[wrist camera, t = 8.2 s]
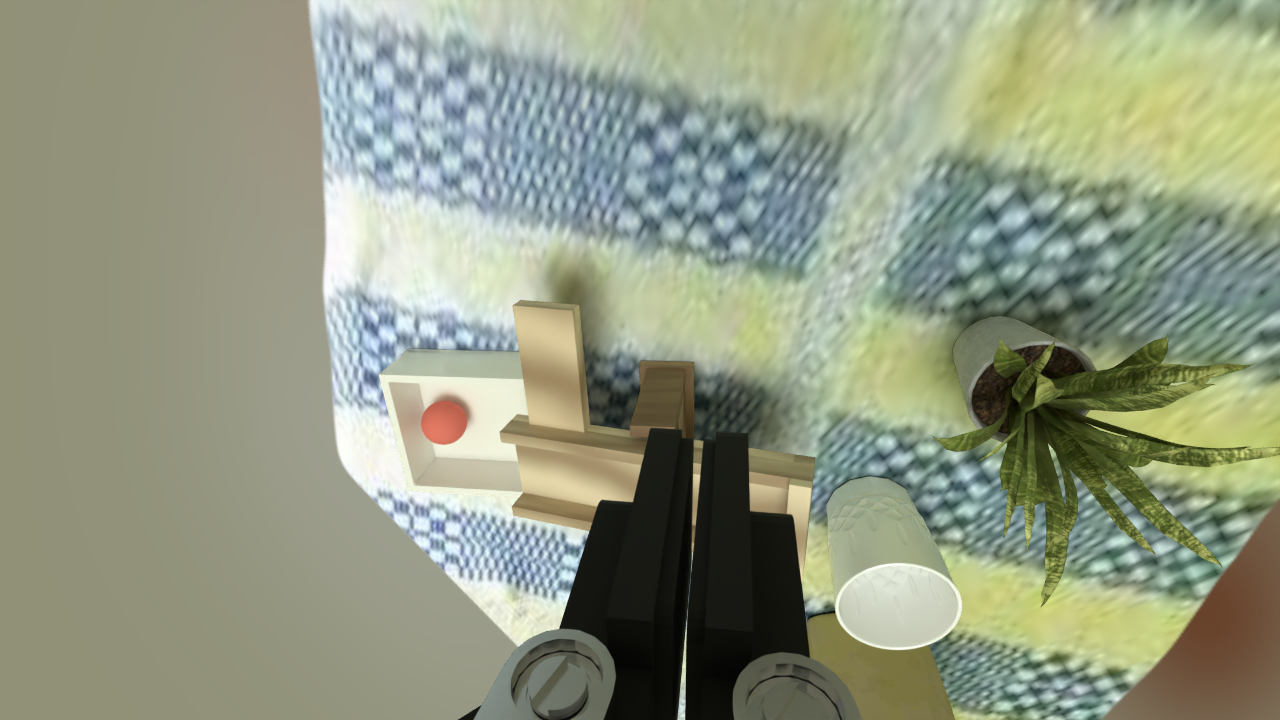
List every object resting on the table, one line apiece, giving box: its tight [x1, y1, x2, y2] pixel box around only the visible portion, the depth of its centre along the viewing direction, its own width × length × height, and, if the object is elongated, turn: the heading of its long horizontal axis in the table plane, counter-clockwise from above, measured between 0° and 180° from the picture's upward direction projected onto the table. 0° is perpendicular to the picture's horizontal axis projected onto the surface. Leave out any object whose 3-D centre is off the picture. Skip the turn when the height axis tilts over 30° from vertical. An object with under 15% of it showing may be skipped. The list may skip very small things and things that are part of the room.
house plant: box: [931, 316, 1280, 607], centre depth 35 cm, size 14×14×16 cm
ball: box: [421, 401, 467, 445], centre depth 48 cm, size 4×4×4 cm
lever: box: [499, 300, 815, 582], centre depth 38 cm, size 16×20×4 cm
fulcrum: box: [630, 361, 694, 438], centre depth 44 cm, size 10×4×9 cm, turn 2°
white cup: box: [826, 476, 962, 650], centre depth 44 cm, size 8×8×10 cm
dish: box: [379, 349, 528, 498], centre depth 48 cm, size 11×12×4 cm
